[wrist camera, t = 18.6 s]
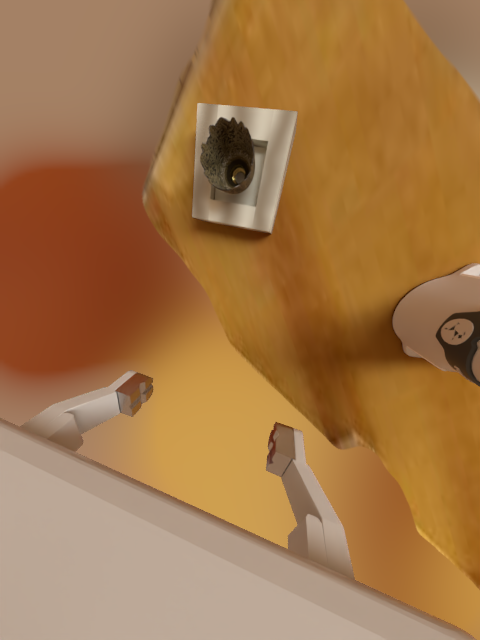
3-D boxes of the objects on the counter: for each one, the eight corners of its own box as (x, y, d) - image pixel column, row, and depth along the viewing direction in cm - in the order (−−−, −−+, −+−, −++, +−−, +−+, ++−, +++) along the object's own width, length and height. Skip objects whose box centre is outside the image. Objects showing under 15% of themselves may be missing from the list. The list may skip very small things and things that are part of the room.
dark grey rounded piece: (242, 213, 31) (229, 202, 24) (212, 183, 31) (190, 164, 24) (270, 171, 28) (265, 145, 21) (237, 138, 27) (221, 99, 20)
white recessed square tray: (295, 133, 28) (297, 111, 23) (271, 234, 34) (269, 232, 30) (210, 124, 30) (197, 103, 25) (203, 220, 36) (192, 217, 32)
